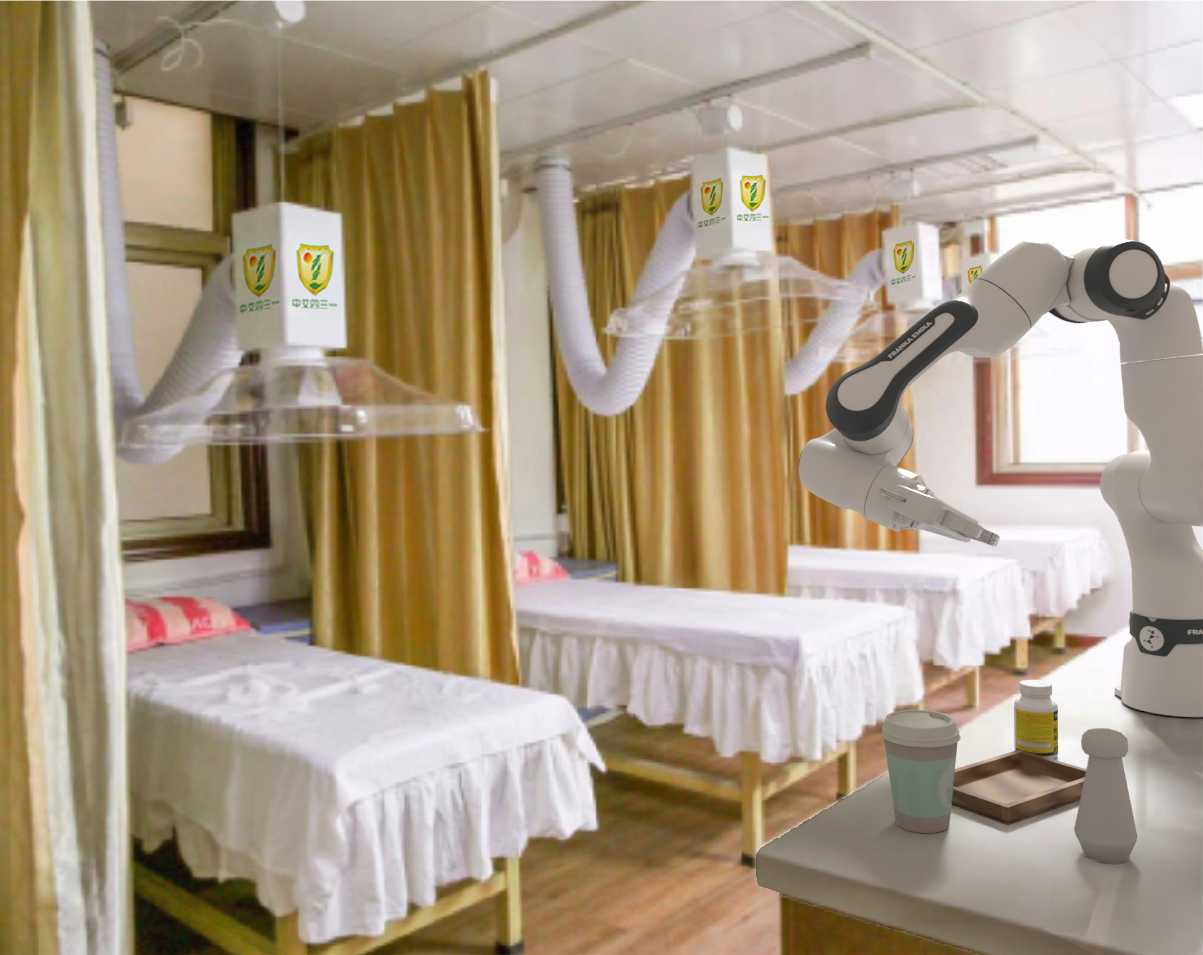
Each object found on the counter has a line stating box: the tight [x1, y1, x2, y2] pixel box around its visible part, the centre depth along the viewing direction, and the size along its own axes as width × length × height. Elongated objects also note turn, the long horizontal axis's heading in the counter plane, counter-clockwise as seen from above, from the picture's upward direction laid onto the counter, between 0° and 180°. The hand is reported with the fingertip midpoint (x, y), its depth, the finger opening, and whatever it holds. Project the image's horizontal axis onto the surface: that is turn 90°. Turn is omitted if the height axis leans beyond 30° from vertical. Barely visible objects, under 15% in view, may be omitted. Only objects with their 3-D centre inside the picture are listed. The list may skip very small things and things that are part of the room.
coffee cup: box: [880, 709, 961, 834], centre depth 118 cm, size 8×8×12 cm
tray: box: [951, 750, 1087, 826], centre depth 127 cm, size 18×12×2 cm, turn 122°
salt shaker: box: [1073, 727, 1138, 865], centre depth 108 cm, size 6×6×13 cm
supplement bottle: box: [1013, 679, 1059, 760], centre depth 140 cm, size 5×5×10 cm
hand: (988, 537), depth 145 cm, fingers open, 8 cm apart
